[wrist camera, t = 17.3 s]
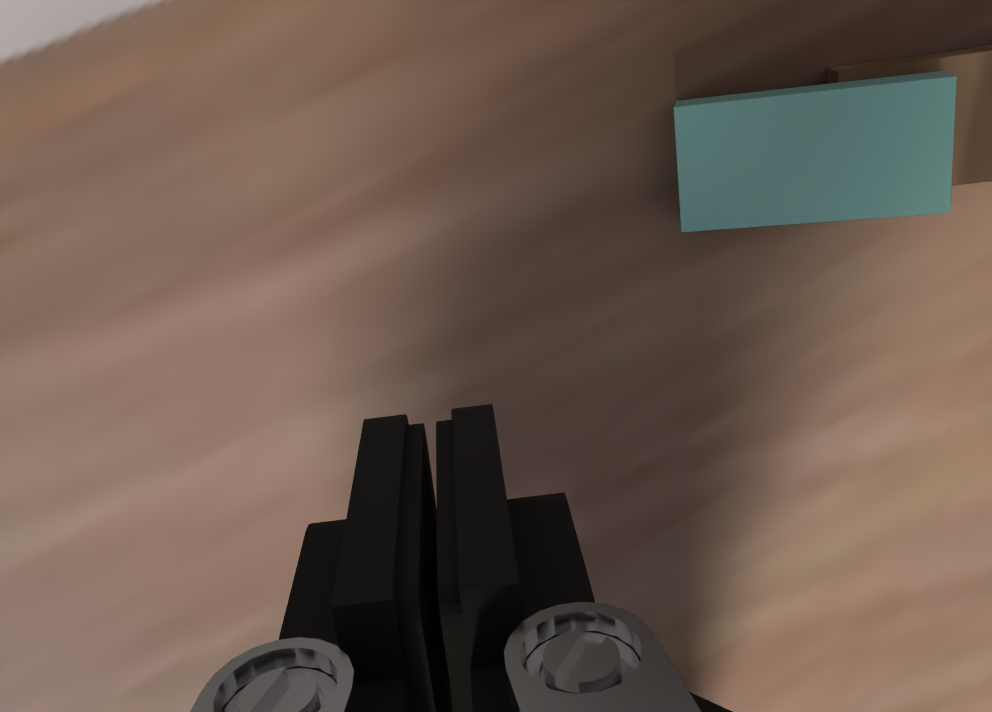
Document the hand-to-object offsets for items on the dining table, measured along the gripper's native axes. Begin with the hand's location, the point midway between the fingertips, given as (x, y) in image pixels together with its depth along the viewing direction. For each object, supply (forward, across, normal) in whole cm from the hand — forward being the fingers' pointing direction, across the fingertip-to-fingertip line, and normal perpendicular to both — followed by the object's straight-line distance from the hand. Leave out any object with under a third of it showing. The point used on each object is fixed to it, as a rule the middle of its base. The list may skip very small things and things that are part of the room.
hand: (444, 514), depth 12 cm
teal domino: (+26, -10, +1) cm, 28 cm away
